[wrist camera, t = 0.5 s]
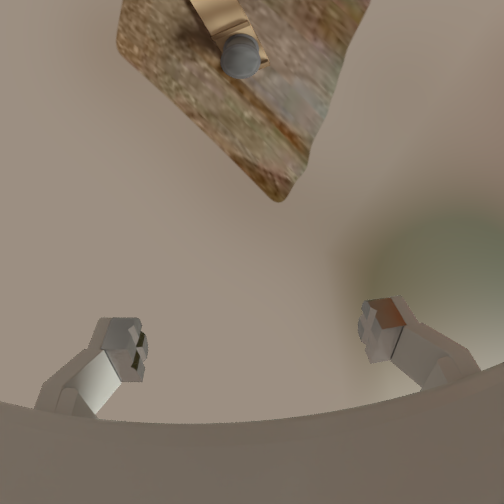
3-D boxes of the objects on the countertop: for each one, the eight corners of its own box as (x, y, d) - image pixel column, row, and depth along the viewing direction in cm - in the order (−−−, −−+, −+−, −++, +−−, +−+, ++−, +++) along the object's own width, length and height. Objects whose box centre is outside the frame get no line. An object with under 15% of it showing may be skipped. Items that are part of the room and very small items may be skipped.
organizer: (163, -44, 31) (159, -44, 29) (200, -63, 29) (197, -64, 27) (235, 73, 50) (234, 79, 48) (269, 60, 48) (270, 65, 46)
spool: (217, 42, 43) (213, 53, 39) (250, 28, 42) (250, 38, 37) (232, 69, 48) (231, 84, 43) (264, 56, 46) (266, 70, 42)
